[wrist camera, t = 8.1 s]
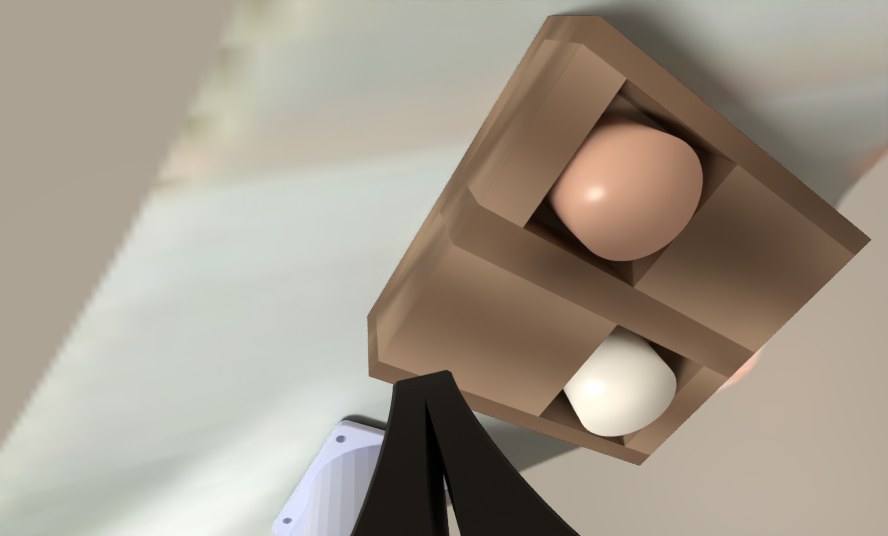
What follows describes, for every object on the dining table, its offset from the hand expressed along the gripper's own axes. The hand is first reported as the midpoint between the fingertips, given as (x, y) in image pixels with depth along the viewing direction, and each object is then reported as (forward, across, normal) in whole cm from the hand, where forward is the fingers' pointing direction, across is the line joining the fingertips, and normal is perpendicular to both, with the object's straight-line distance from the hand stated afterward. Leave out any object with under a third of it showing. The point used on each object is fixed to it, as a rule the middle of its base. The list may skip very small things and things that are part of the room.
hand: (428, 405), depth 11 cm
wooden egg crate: (+9, -8, +3) cm, 13 cm away
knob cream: (+8, -8, +7) cm, 14 cm away
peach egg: (+8, -8, -2) cm, 12 cm away
